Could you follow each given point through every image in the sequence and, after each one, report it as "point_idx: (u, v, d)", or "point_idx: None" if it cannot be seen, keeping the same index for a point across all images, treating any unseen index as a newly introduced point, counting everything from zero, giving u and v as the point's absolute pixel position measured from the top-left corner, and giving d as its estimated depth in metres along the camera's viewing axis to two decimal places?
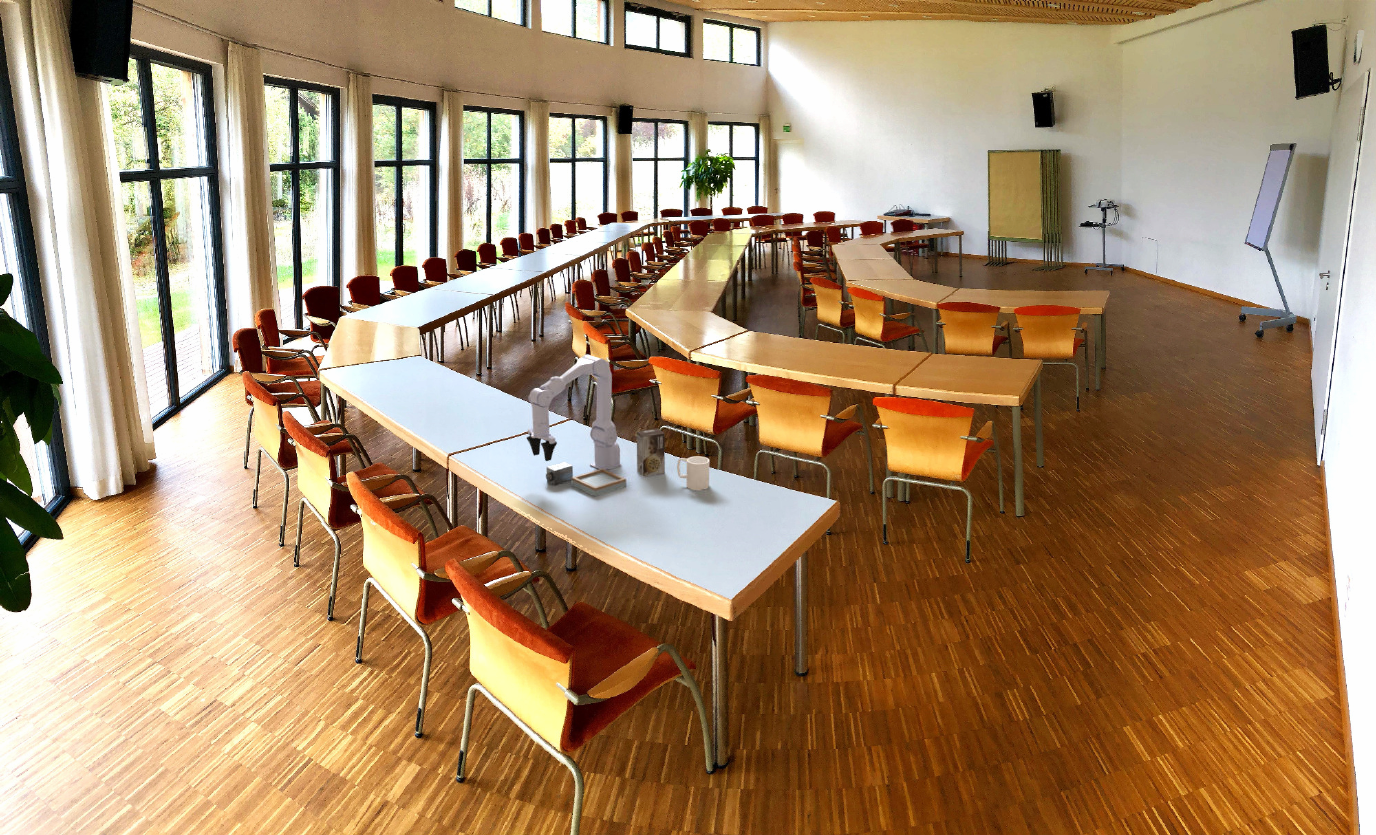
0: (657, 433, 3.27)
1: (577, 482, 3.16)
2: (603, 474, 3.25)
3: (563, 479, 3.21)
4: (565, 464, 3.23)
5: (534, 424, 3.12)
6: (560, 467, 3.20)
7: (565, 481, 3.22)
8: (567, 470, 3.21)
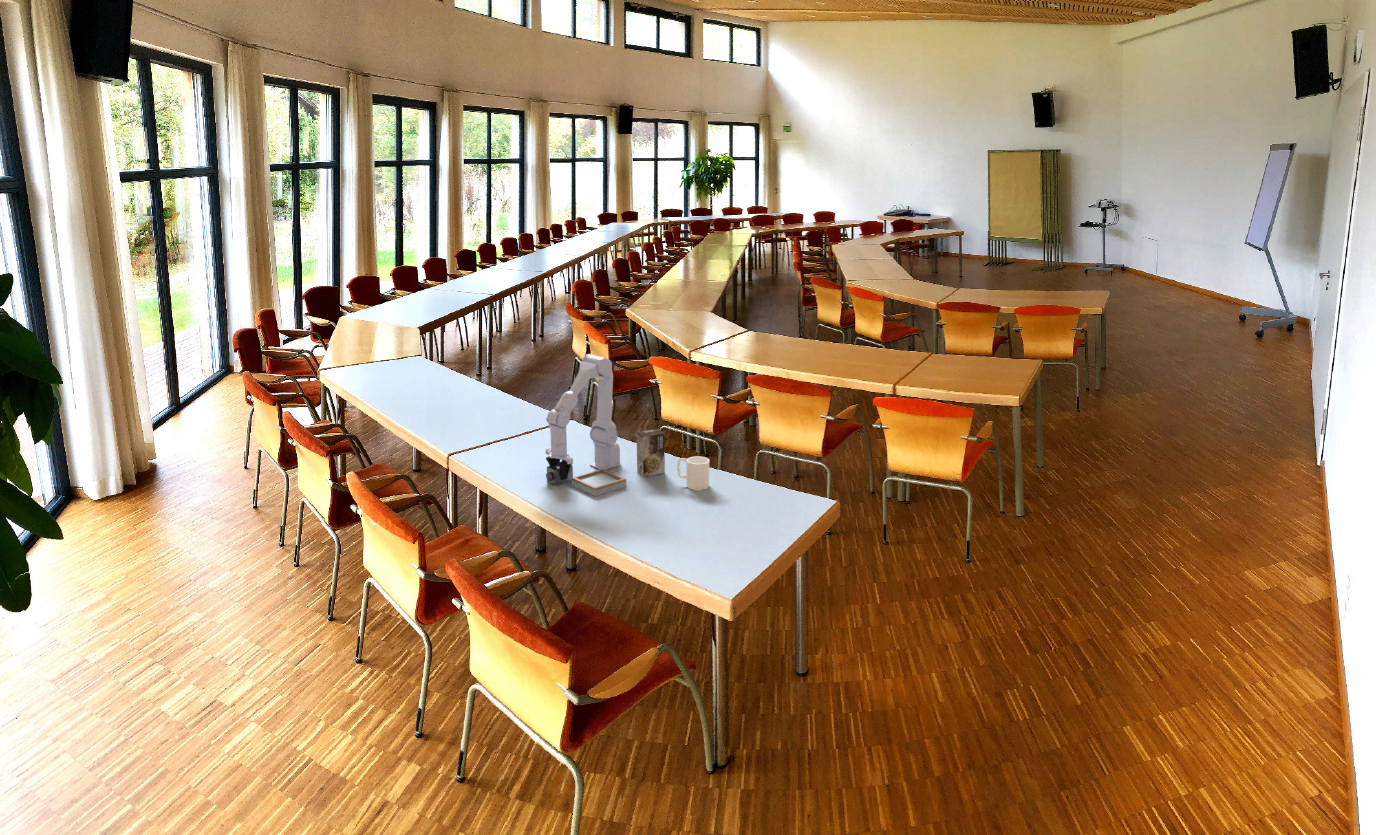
0: (657, 433, 3.27)
1: (577, 482, 3.16)
2: (603, 474, 3.25)
3: None
4: None
5: (552, 444, 3.17)
6: None
7: (565, 481, 3.22)
8: None
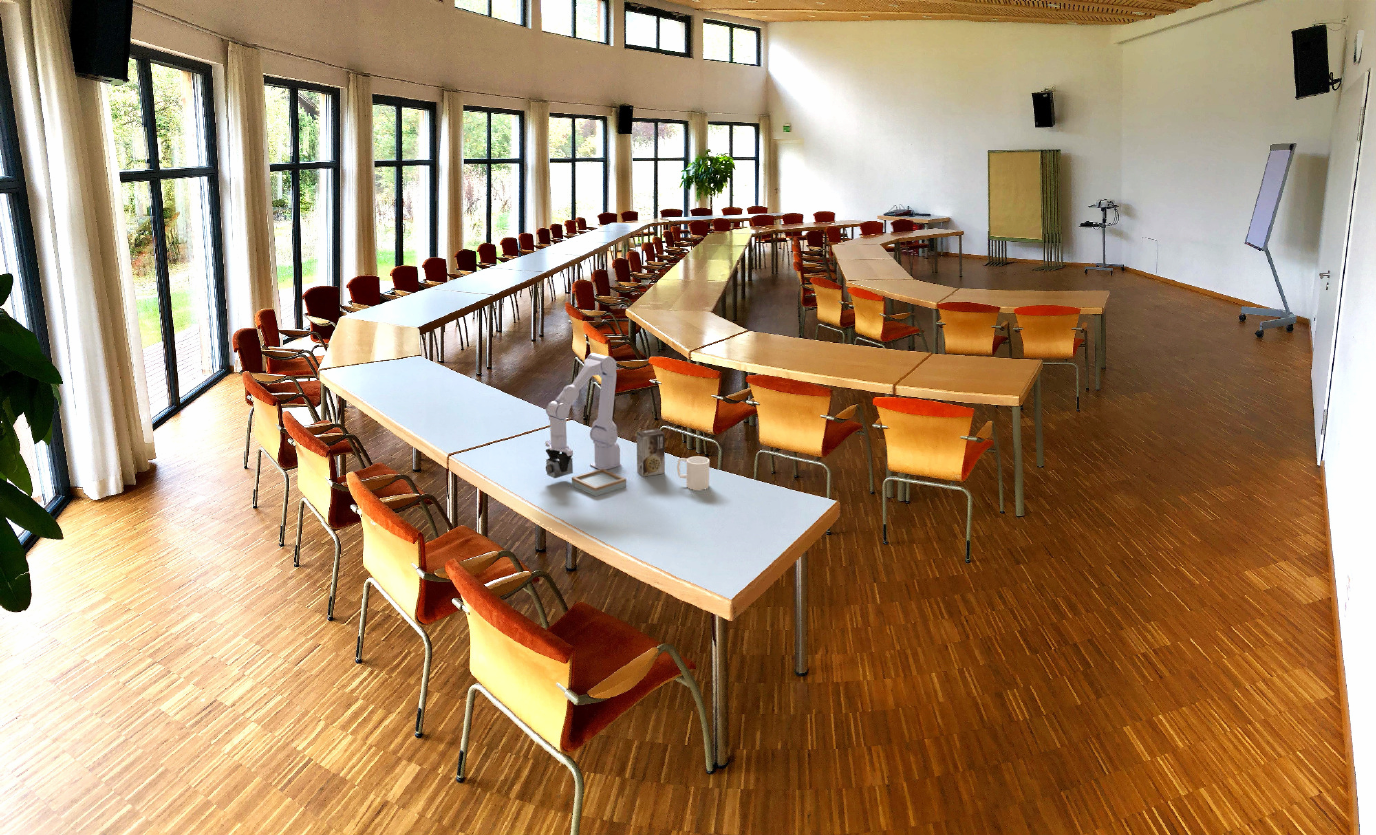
0: (657, 433, 3.27)
1: (577, 482, 3.16)
2: (603, 474, 3.25)
3: None
4: None
5: (552, 436, 3.16)
6: None
7: (565, 473, 3.21)
8: None
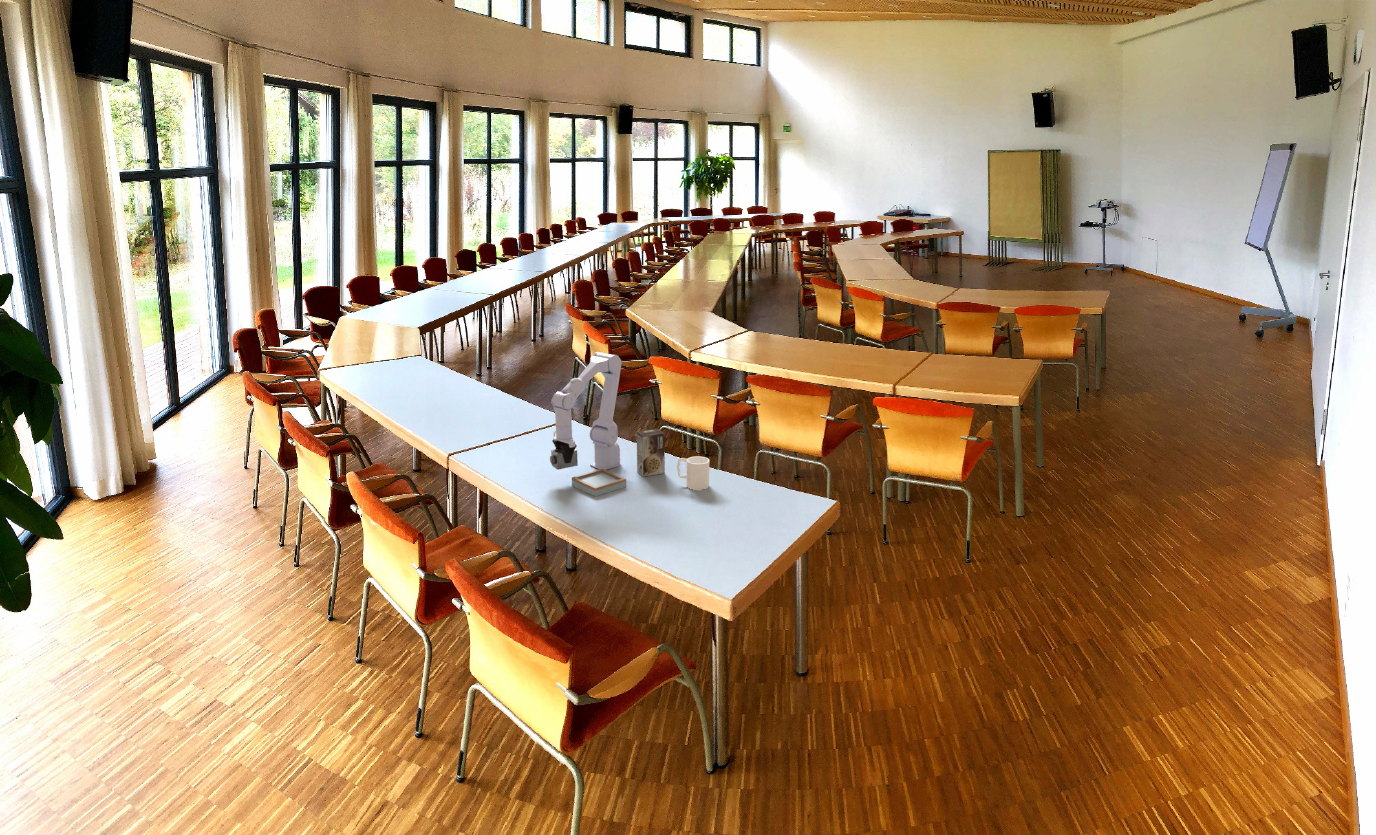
0: (657, 433, 3.27)
1: (577, 482, 3.16)
2: (603, 474, 3.25)
3: (566, 463, 3.18)
4: None
5: (556, 427, 3.15)
6: None
7: (569, 465, 3.19)
8: None
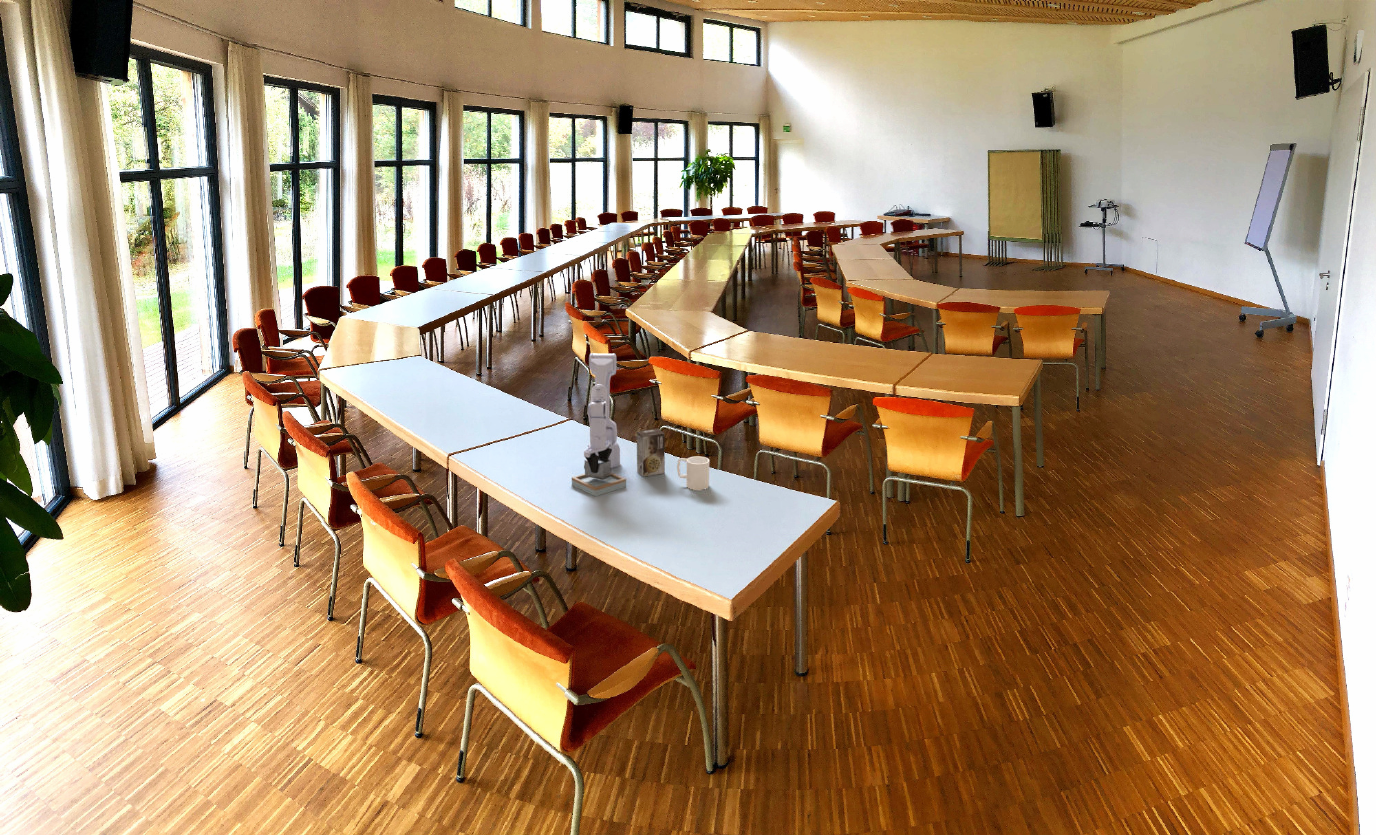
0: (657, 433, 3.27)
1: (577, 482, 3.16)
2: None
3: (593, 473, 3.16)
4: (604, 461, 3.15)
5: None
6: None
7: (595, 476, 3.16)
8: None
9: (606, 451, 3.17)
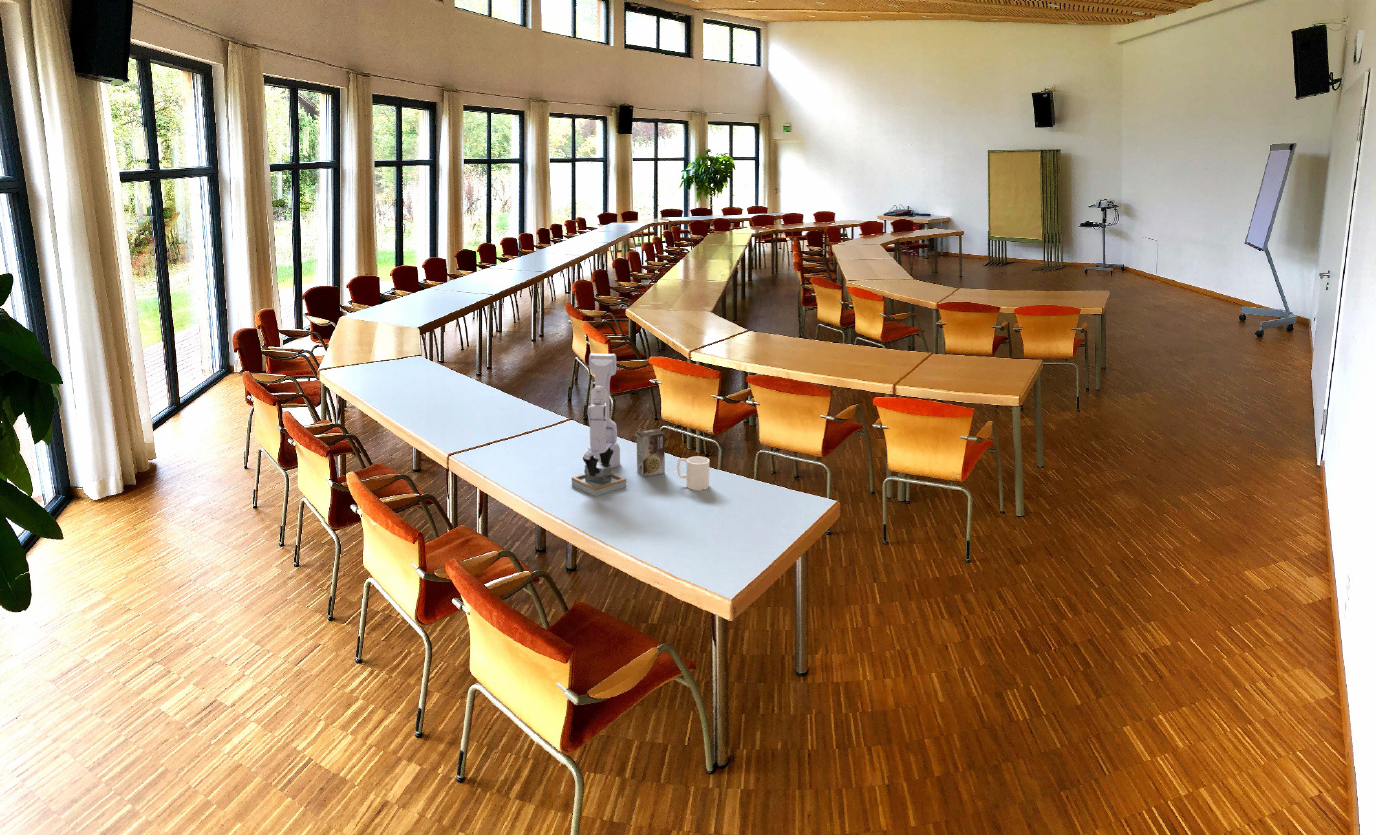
0: (657, 433, 3.27)
1: (577, 482, 3.16)
2: None
3: (593, 477, 3.16)
4: (604, 466, 3.16)
5: None
6: None
7: (595, 481, 3.16)
8: (597, 471, 3.15)
9: (608, 452, 3.18)
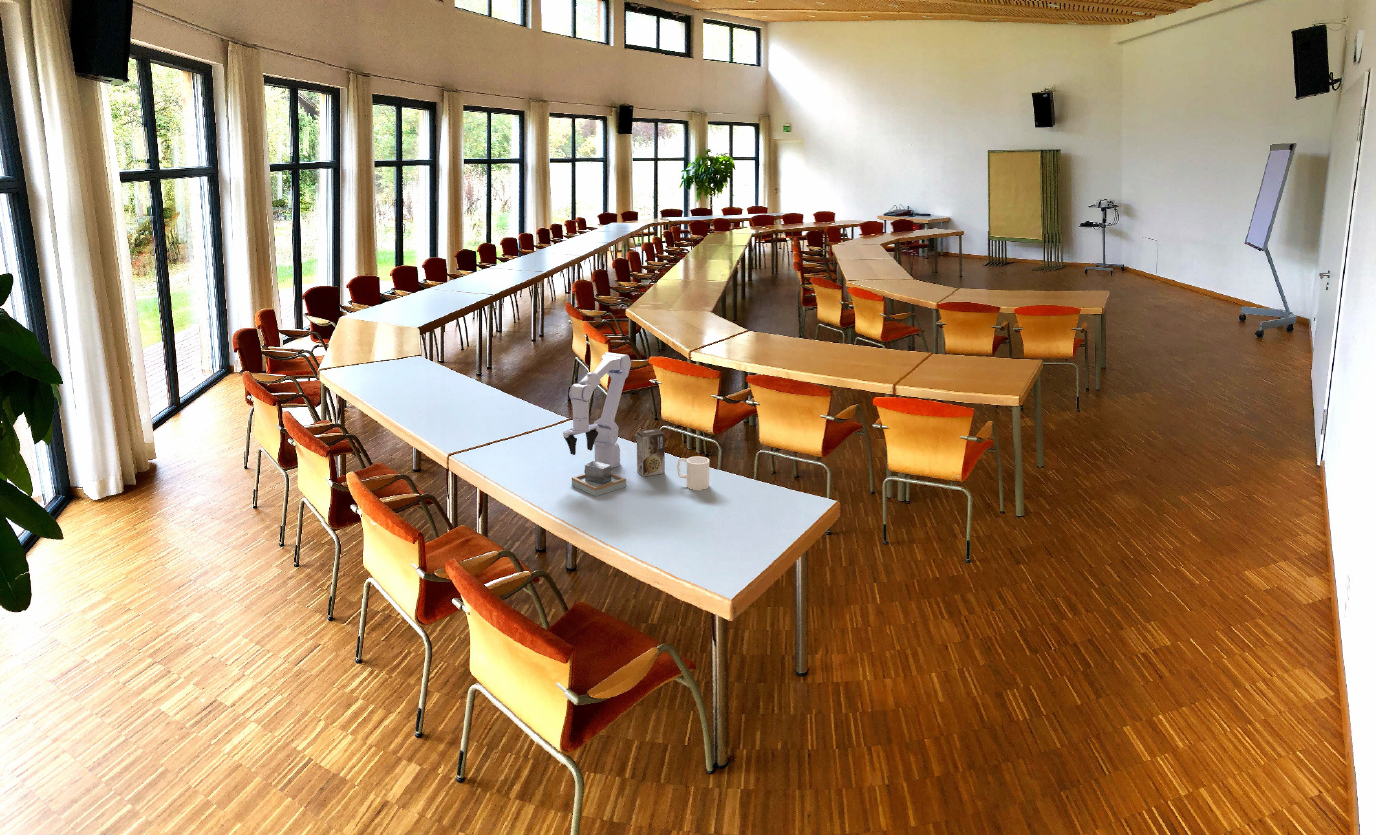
0: (657, 433, 3.27)
1: (577, 482, 3.16)
2: None
3: (593, 477, 3.16)
4: (604, 466, 3.16)
5: None
6: (595, 465, 3.16)
7: (595, 481, 3.16)
8: (597, 471, 3.15)
9: (592, 433, 3.22)
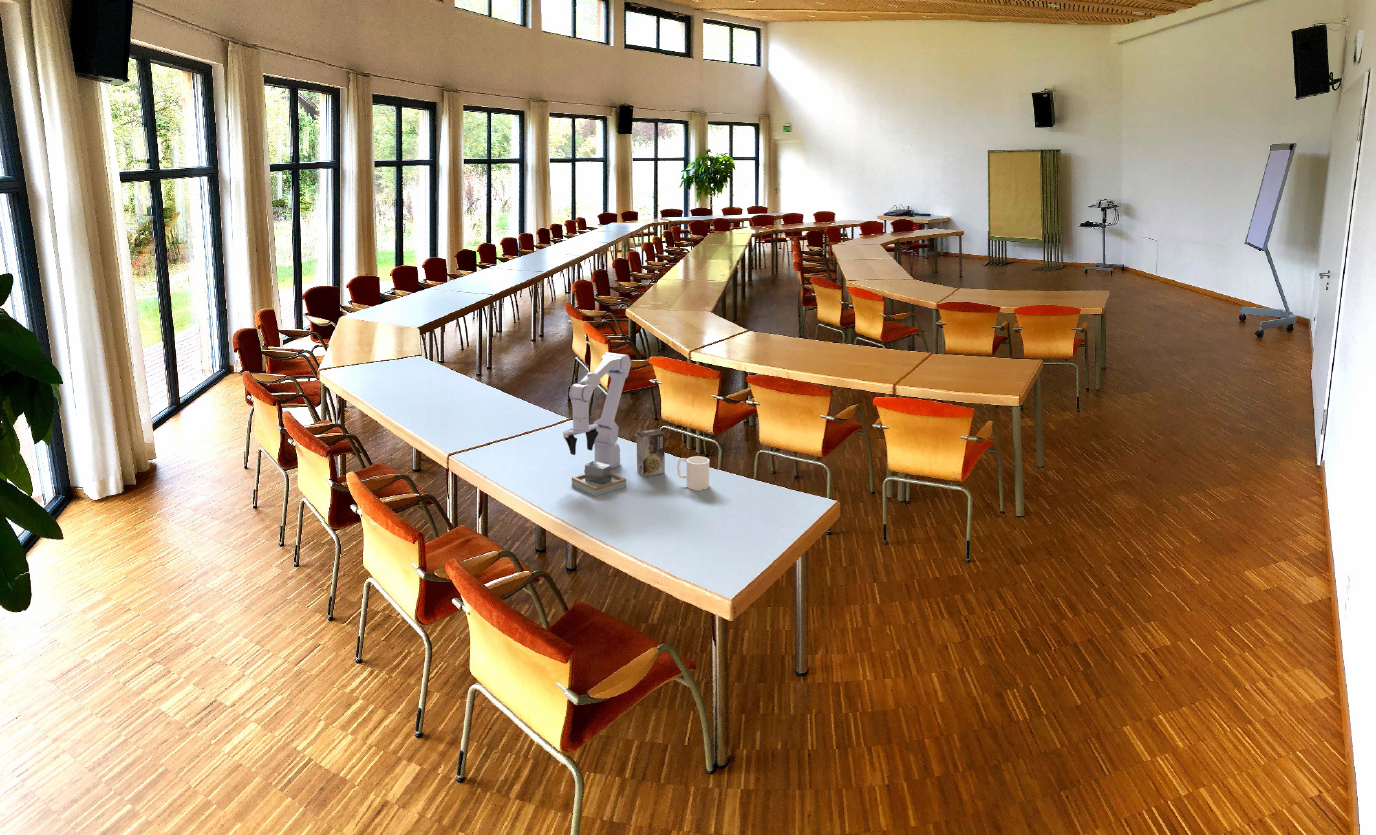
0: (657, 433, 3.27)
1: (577, 482, 3.16)
2: None
3: (593, 477, 3.16)
4: (604, 466, 3.16)
5: None
6: (595, 465, 3.16)
7: (595, 481, 3.16)
8: (597, 471, 3.15)
9: (592, 433, 3.22)
